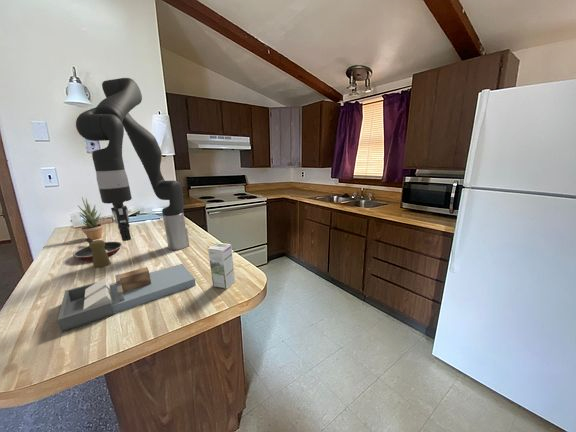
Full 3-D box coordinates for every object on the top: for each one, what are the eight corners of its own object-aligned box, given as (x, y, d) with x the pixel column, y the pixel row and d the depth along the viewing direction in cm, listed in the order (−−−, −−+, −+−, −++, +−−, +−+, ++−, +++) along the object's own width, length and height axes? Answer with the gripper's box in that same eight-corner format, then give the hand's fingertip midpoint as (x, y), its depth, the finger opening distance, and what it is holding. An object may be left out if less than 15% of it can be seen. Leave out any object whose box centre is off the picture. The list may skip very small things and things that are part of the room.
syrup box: (235, 281, 86) (232, 243, 82) (226, 289, 81) (222, 249, 77) (222, 278, 88) (217, 241, 84) (212, 287, 83) (207, 248, 79)
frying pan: (79, 267, 102) (77, 259, 101) (65, 250, 122) (63, 243, 121) (129, 252, 116) (127, 245, 115) (109, 239, 136) (107, 233, 135)
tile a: (112, 293, 76) (105, 287, 74) (113, 302, 71) (106, 295, 70) (91, 306, 73) (84, 300, 72) (90, 316, 68) (83, 309, 67)
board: (183, 269, 97) (182, 263, 96) (195, 285, 84) (194, 278, 84) (110, 290, 83) (108, 284, 82) (112, 313, 70) (110, 306, 70)
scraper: (147, 274, 88) (144, 261, 87) (154, 290, 77) (151, 276, 76) (117, 283, 83) (113, 269, 81) (119, 301, 72) (116, 286, 70)
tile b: (111, 283, 82) (105, 277, 80) (111, 291, 77) (105, 284, 76) (91, 295, 79) (85, 289, 78) (91, 304, 74) (84, 297, 73)
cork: (101, 268, 100) (95, 243, 97) (89, 267, 101) (83, 243, 98) (114, 262, 105) (108, 238, 102) (103, 261, 106) (97, 238, 104)
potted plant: (91, 236, 143) (81, 195, 136) (108, 235, 144) (99, 194, 137) (79, 242, 133) (67, 198, 127) (97, 240, 134) (87, 197, 128)
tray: (110, 289, 83) (107, 279, 82) (112, 315, 70) (109, 303, 68) (68, 301, 77) (65, 290, 76) (62, 332, 63) (57, 319, 62)
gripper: (131, 186, 68) (142, 239, 73) (126, 182, 79) (136, 229, 84) (98, 189, 64) (112, 246, 68) (98, 185, 75) (110, 234, 79)
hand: (125, 236), depth 76 cm, fingers open, 8 cm apart
